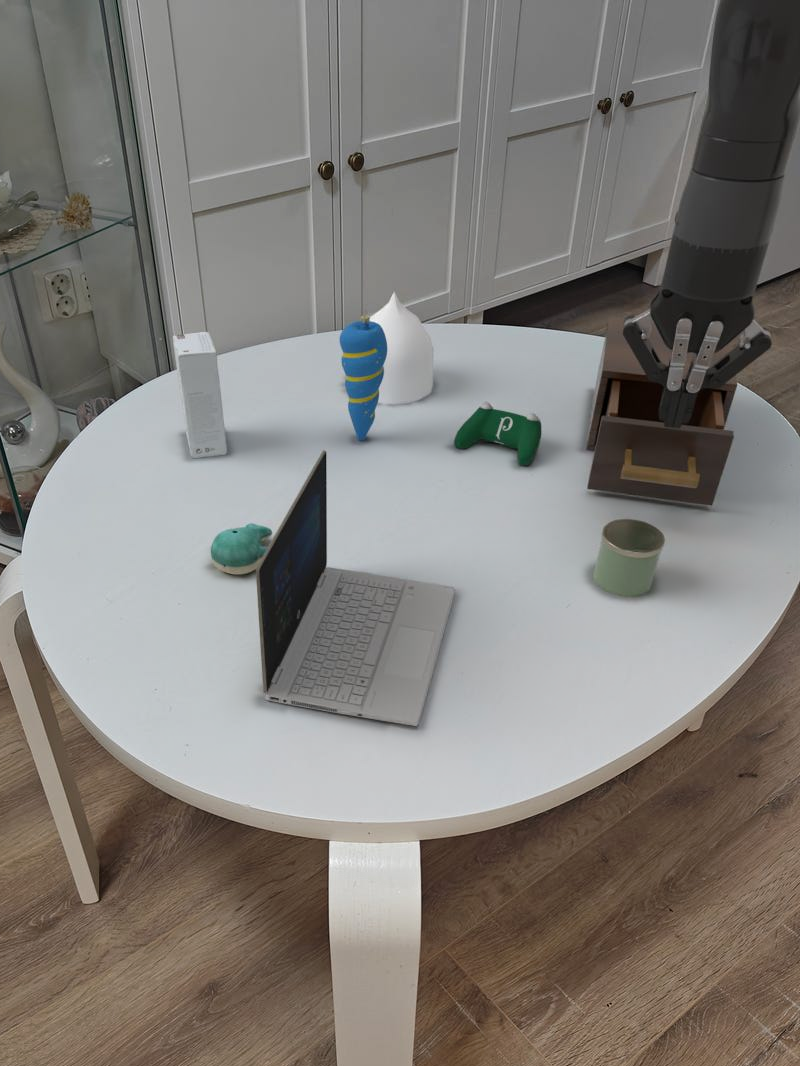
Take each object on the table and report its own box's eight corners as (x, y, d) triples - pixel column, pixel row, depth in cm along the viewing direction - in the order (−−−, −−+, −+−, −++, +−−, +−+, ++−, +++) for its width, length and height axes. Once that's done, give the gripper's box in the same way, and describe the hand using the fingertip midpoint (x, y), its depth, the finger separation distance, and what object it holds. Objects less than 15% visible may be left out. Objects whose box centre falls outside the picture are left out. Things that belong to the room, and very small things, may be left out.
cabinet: (712, 467, 100) (737, 384, 93) (585, 451, 103) (602, 370, 96) (707, 405, 111) (729, 328, 105) (593, 392, 114) (609, 317, 108)
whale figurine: (198, 570, 86) (194, 536, 83) (237, 531, 91) (234, 498, 88) (251, 586, 84) (249, 552, 81) (288, 545, 89) (287, 512, 86)
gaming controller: (533, 474, 102) (552, 425, 102) (527, 463, 99) (547, 412, 99) (458, 454, 106) (476, 407, 106) (450, 443, 102) (469, 393, 102)
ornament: (334, 447, 104) (335, 317, 94) (344, 427, 107) (345, 300, 98) (378, 452, 103) (384, 322, 93) (387, 431, 106) (393, 304, 97)
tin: (652, 568, 85) (665, 523, 82) (651, 602, 81) (665, 556, 78) (593, 559, 86) (603, 515, 83) (590, 592, 82) (600, 547, 79)
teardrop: (367, 362, 122) (370, 270, 114) (445, 376, 118) (453, 283, 110) (332, 394, 114) (332, 298, 106) (414, 411, 110) (420, 313, 103)
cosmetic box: (228, 455, 102) (220, 351, 95) (189, 460, 102) (177, 356, 94) (221, 430, 107) (212, 329, 99) (183, 434, 106) (171, 333, 98)
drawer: (713, 532, 88) (737, 460, 83) (583, 513, 91) (598, 443, 86) (707, 440, 102) (726, 374, 97) (594, 426, 105) (608, 362, 100)
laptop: (417, 732, 69) (429, 597, 61) (262, 701, 72) (252, 568, 63) (455, 593, 82) (469, 467, 74) (322, 572, 85) (321, 447, 77)
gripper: (636, 238, 73) (597, 434, 84) (814, 251, 70) (749, 452, 81) (639, 212, 78) (602, 399, 90) (804, 223, 75) (744, 415, 87)
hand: (672, 424), depth 85 cm, fingers closed
